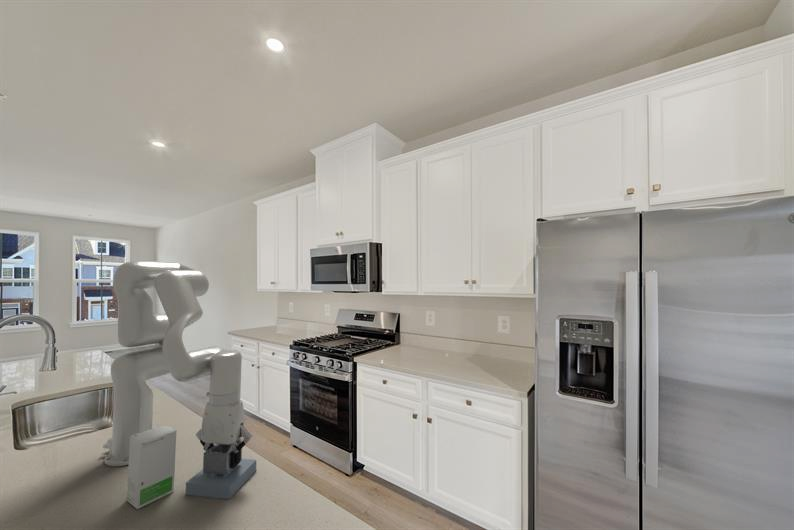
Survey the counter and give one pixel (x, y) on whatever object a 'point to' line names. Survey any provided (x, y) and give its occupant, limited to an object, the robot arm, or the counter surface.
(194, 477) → the shaft block
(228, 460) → the grey open box
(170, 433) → the skincare box
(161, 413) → the counter surface
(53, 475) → the counter surface
